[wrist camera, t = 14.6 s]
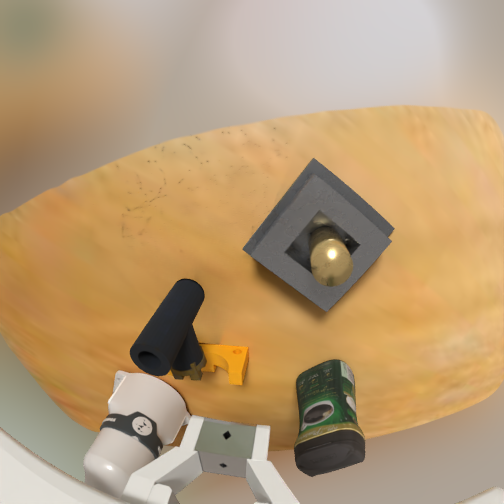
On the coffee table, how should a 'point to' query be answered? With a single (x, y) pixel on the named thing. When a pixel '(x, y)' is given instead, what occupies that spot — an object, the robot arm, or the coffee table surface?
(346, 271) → the tan cylinder
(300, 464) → the coffee jar
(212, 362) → the pipe clamp
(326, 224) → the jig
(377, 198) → the coffee table surface
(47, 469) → the robot arm
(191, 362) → the pipe connector
